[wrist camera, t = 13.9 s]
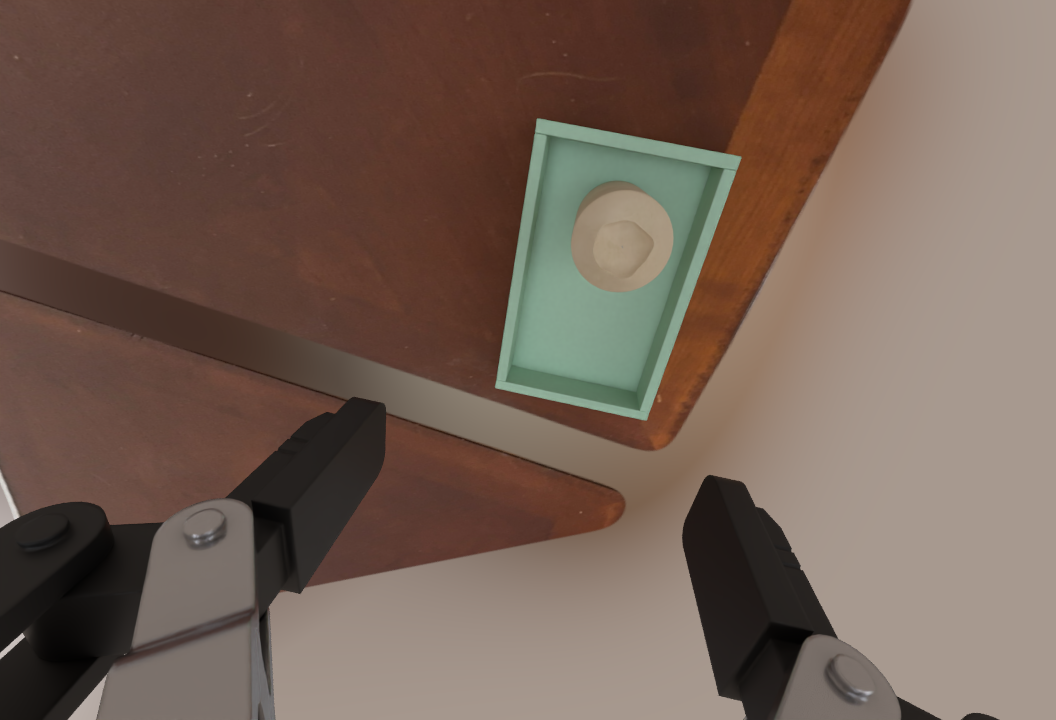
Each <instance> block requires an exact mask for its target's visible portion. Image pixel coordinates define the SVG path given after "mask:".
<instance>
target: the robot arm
mask: <svg viewBox="0 0 1056 720" xmlns="http://www.w3.org/2000/svg"><path fill="white" fill-rule="evenodd" d="M385 435H386V407H385V405H384V404H383V403H380V402H376V401H371V400H366V399H362V398H357V397H352V398H351V399H349V400H348V401H347V402H346V403H345V404H344V405H343V406H342V407H341V408H340V410H339V411H338V412H337V413H336V414H333V413H329V412H326V413H324V414H321V415H319V416H317V417H315V418H313V419H311V420H309V421H307V422H305V423H304V424H303V425H302V426H301V427H300V428H299V429H298V430H297V431H296V432H295V433H294V434H293V435H292V436H291V438H290V439H287V440H286V441H285V442H284V443H283V444H282V445H281V446H280V447H279V448H278V451H275V452H274V453H273V454H271V455H270V456H269V457H268V458H267V459H266V460H265V461H264V462H263V463H262V464H261V465H260V466H259V467H258V468H257V469H256V470H255V471H253V472H252V473H251V474H250V475H249V476H248V477H247V478H246V479H245V480H244V481H243V482H242V483H241V484H240V485H239V486H238V487H236V488H235V489H234V490H233V491H232V492H231V493H230V494H229V495H228V496H227V497H226V498H219V499H211V500H206V501H202V502H199V503H196V504H193V505H191V506H189V507H186V508H184V509H182V510H181V511H179V512H177V513H176V514H174V515H173V516H171V517H170V518H169V519H168V520H167V521H165V522H163V523H144V524H123V525H109V522H108V520H107V517H106V514H105V512H104V510H103V509H102V508H101V507H99V506H97V505H95V504H92V503H87V502H69V503H61V504H56V505H52V506H48V507H45V508H41V509H38V510H36V511H33V512H30V513H28V514H26V515H23V516H21V517H19V518H17V519H15V520H13V521H11V522H10V523H8V524H6V525H5V526H3V527H2V528H0V652H1V651H2V650H4V649H5V648H6V647H7V646H8V645H9V644H10V643H11V642H12V641H14V639H16V638H17V637H18V636H19V635H20V634H21V633H23V634H24V636H25V638H23V639H22V640H21V641H20V642H19V643H18V644H17V645H16V646H15V647H14V648H13V649H11V650H10V651H9V652H8V653H7V654H6V655H5V656H4V657H3V658H1V659H0V720H68V718H69V717H70V716H71V715H72V714H73V712H74V711H75V710H76V709H77V708H78V707H79V706H80V705H81V703H82V702H83V701H84V700H85V699H86V698H87V696H88V695H89V694H90V693H91V692H92V691H93V690H94V688H95V687H96V686H97V685H98V684H99V683H100V681H101V680H102V679H103V678H104V677H105V676H106V675H107V677H106V681H105V685H104V689H103V693H102V697H101V702H100V706H99V710H98V714H97V719H96V720H275V710H274V694H273V674H272V673H273V672H272V652H271V632H270V611H269V606H270V604H271V603H272V601H273V600H274V598H275V597H276V596H277V594H278V593H279V592H280V590H286V591H290V592H295V593H298V594H300V593H301V592H302V591H303V589H304V588H305V586H306V584H307V583H308V581H309V580H310V578H311V577H312V575H313V574H314V572H315V571H316V569H317V568H318V566H319V565H320V563H321V562H322V560H323V559H324V557H325V556H326V554H327V553H328V551H329V550H330V548H331V546H332V545H333V543H334V542H335V540H336V539H337V537H338V536H339V534H340V533H341V531H342V530H343V528H344V527H345V525H346V524H347V522H348V521H349V519H350V518H351V516H352V515H353V513H354V511H355V510H356V508H357V507H358V505H359V504H360V502H361V501H362V499H363V498H364V496H365V495H366V493H367V492H368V490H369V489H370V487H371V486H372V484H373V483H374V481H375V480H376V478H377V476H378V475H379V473H380V470H381V468H382V465H383V461H384V457H385ZM682 540H683V548H684V552H685V557H686V561H687V565H688V569H689V573H690V577H691V582H692V585H693V590H694V594H695V598H696V602H697V606H698V611H699V614H700V619H701V623H702V627H703V631H704V636H705V640H706V644H707V648H708V652H709V656H710V660H711V665H712V669H713V673H714V677H715V681H716V685H717V690H718V694H719V696H722V697H727V698H731V699H735V700H740V701H742V703H743V707H744V710H745V714H746V717H745V718H744V719H743V720H941V719H939V718H937V717H935V716H934V715H932V714H930V713H928V712H926V711H924V710H922V709H920V708H918V707H916V706H914V705H912V704H911V703H909V702H907V701H905V700H903V699H901V698H899V697H897V696H896V695H895V693H894V691H893V689H892V687H891V686H890V684H889V683H888V681H887V680H886V678H885V677H884V676H883V674H882V673H881V672H880V671H879V670H878V669H877V667H876V666H875V665H874V664H873V663H872V662H871V661H870V660H868V659H867V658H866V657H865V656H864V655H863V654H861V653H860V652H859V651H858V650H856V649H855V648H853V647H851V646H850V645H849V644H847V643H845V642H843V641H841V640H839V639H838V638H837V636H836V634H835V632H834V630H833V628H832V626H831V624H830V622H829V620H828V618H827V616H826V614H825V612H824V610H823V609H822V606H821V605H820V603H819V601H818V599H817V597H816V595H815V593H814V591H813V589H812V587H811V585H810V583H809V581H808V579H807V577H806V575H805V574H804V572H803V570H800V564H799V562H798V560H797V558H796V556H795V554H794V553H792V552H791V549H792V548H791V546H790V544H789V543H788V541H787V539H786V537H785V535H784V533H783V531H782V529H781V527H780V526H779V525H778V524H777V523H776V522H775V521H774V520H773V519H772V518H771V517H770V515H768V513H767V512H766V511H765V510H764V509H763V508H758V507H755V504H754V502H753V500H752V498H751V496H750V494H749V492H748V490H747V488H746V486H745V484H744V483H742V482H740V481H736V480H731V479H726V478H722V477H717V476H713V475H708V476H707V477H706V478H705V479H704V481H703V483H702V485H701V487H700V489H699V491H698V494H697V496H696V498H695V500H694V502H693V504H692V506H691V509H690V511H689V513H688V515H687V517H686V519H685V523H684V527H683V534H682ZM124 654H125V655H124ZM107 673H108V674H107ZM961 720H998V719H996V718H994V717H991V716H989V715H985V714H981V713H971V714H968V715H966V716H965V717H964V718H963V719H961Z"/></svg>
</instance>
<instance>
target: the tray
mask: <svg viewBox="0 0 1056 720" xmlns="http://www.w3.org/2000/svg"><path fill="white" fill-rule="evenodd" d="M740 160H741V156H736V155H731V154H725V153H720V152H715V151H709V150H704V149H699V148H693V147H688V146H683V145H677V144H672V143H667V142H662V141H656V140H651V139H646V138H640V137H635V136H630V135H624V134H619V133H614V132H608V131H603V130H598V129H592V128H587V127H582V126H577V125H571V124H566V123H561V122H555V121H550V120H545V119H539V118H537V122H536V128H535V135H534V141H533V148H532V154H531V161H530V167H529V173H528V180H527V186H526V193H525V199H524V205H523V212H522V218H521V225H520V231H519V237H518V244H517V250H516V257H515V263H514V270H513V276H512V282H511V289H510V295H509V302H508V308H507V314H506V321H505V327H504V334H503V340H502V347H501V353H500V359H499V366H498V372H497V380H496V385H495V388H498V389H502V390H507V391H512V392H516V393H521V394H525V395H530V396H535V397H539V398H544V399H548V400H553V401H558V402H562V403H567V404H572V405H576V406H581V407H585V408H590V409H595V410H599V411H604V412H608V413H613V414H618V415H622V416H627V417H631V418H636V419H641V420H645V421H646V420H647V418H648V415H649V412H650V409H651V406H652V404H653V401H654V398H655V395H656V393H657V390H658V387H659V384H660V382H661V379H662V376H663V373H664V371H665V368H666V365H667V362H668V359H669V357H670V354H671V351H672V348H673V346H674V343H675V340H676V337H677V335H678V332H679V329H680V326H681V323H682V321H683V318H684V315H685V312H686V310H687V307H688V304H689V301H690V299H691V296H692V293H693V290H694V287H695V285H696V282H697V279H698V276H699V274H700V271H701V268H702V265H703V263H704V260H705V257H706V254H707V251H708V249H709V246H710V243H711V240H712V238H713V235H714V232H715V229H716V227H717V224H718V221H719V218H720V215H721V213H722V210H723V207H724V204H725V202H726V199H727V196H728V193H729V191H730V188H731V185H732V182H733V180H734V177H735V174H736V170H737V169H738V166H739V163H740ZM609 181H625V182H629V183H632V184H634V185H636V186H637V187H639V188H640V189H642V190H643V191H644V192H646V193H647V194H648V195H650V196H651V197H652V198H653V199H655V200H656V201H657V202H658V203H659V204H660V205H661V206H662V207H663V208H664V210H665V211H666V212H667V214H668V216H669V218H670V221H671V224H672V228H673V247H672V252H671V255H670V258H669V260H668V262H667V264H666V265H665V267H664V268H663V270H662V271H661V272H660V274H659V275H658V276H657V277H656V278H654V279H653V280H652V281H651V282H649V283H648V284H646V285H644V286H643V287H641V288H638V289H636V290H632V291H627V292H610V291H605V290H602V289H600V288H597V287H596V286H594V285H592V284H591V283H589V282H588V281H587V280H586V279H585V278H584V277H583V276H582V275H581V274H580V272H579V271H578V269H577V267H576V265H575V263H574V260H573V257H572V252H571V238H572V232H573V228H574V223H575V219H576V215H577V211H578V208H579V206H580V204H581V202H582V200H583V199H584V197H585V196H586V195H587V194H588V193H589V192H590V191H591V190H592V189H594V188H595V187H597V186H598V185H600V184H603V183H606V182H609Z"/></svg>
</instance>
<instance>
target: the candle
mask: <svg viewBox="0 0 1056 720" xmlns="http://www.w3.org/2000/svg"><path fill="white" fill-rule="evenodd" d="M672 247H673V228H672V224H671V221H670V218H669V216H668V214H667V212H666V211H665V210H664V208H663V207H662V206H661V205H660V204H659V203H658V202H657V201H656V200H655V199H653V198H652V197H651V196H650V195H648V194H647V193H646V192H644V191H643V190H642V189H640V188H639V187H637V186H636V185H634V184H632V183H629V182H625V181H609V182H606V183H603V184H600V185H598V186H597V187H595V188H594V189H592V190H591V191H590V192H589V193H588V194H587V195H586V196H585V197H584V199H583V200H582V202H581V204H580V206H579V208H578V211H577V215H576V219H575V223H574V228H573V232H572V238H571V252H572V257H573V260H574V263H575V265H576V267H577V269H578V271H579V272H580V274H581V275H582V276H583V277H584V278H585V279H586V280H587V281H588V282H589V283H591V284H592V285H594V286H596V287H597V288H600V289H602V290H605V291H610V292H627V291H632V290H636V289H638V288H641V287H643V286H644V285H646V284H648V283H649V282H651V281H652V280H653V279H654V278H656V277H657V276H658V275H659V274H660V272H661V271H662V270H663V268H664V267H665V265H666V264H667V262H668V260H669V258H670V255H671V252H672Z"/></svg>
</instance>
